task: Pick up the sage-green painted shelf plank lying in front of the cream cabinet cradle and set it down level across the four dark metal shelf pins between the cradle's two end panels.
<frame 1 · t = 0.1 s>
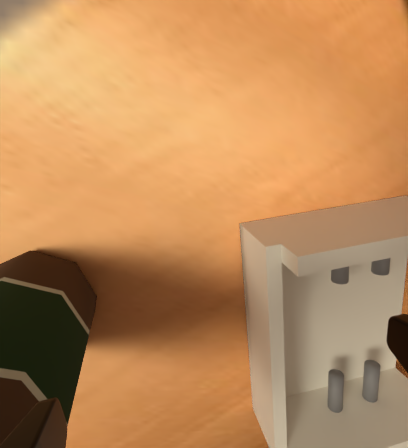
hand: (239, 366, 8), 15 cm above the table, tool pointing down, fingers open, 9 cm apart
beer bottle: (41, 297, 22), on the table
cradle: (335, 305, 27), on the table
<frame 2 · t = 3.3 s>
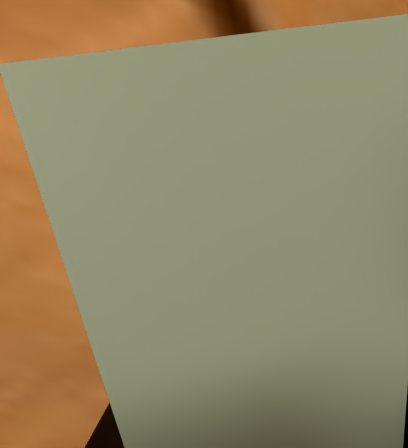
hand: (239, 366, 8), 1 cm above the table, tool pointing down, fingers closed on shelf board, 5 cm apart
shelf board: (225, 334, 9), on the table, touching gripper
when the fingers open (6 cm above the table, at t = 7.6 s): shelf board stays where it is, resting on cradle.
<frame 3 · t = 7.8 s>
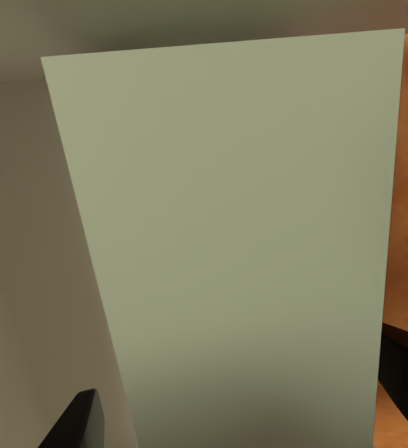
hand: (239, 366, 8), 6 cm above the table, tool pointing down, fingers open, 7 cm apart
cradle: (199, 272, 13), on the table
shelf board: (218, 317, 10), point 3 cm above the table, touching cradle
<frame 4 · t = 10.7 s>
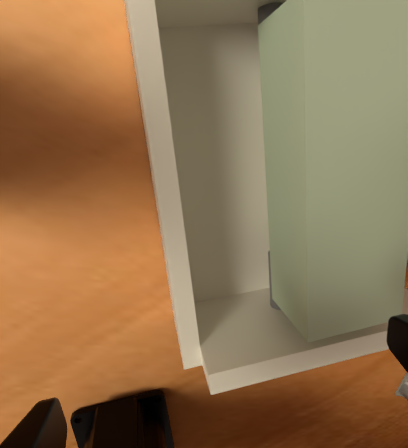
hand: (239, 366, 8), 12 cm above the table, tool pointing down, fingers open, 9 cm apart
cradle: (281, 167, 20), on the table
shelf board: (310, 173, 16), point 3 cm above the table, touching cradle
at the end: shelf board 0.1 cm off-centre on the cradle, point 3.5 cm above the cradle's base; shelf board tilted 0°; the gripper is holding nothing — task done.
